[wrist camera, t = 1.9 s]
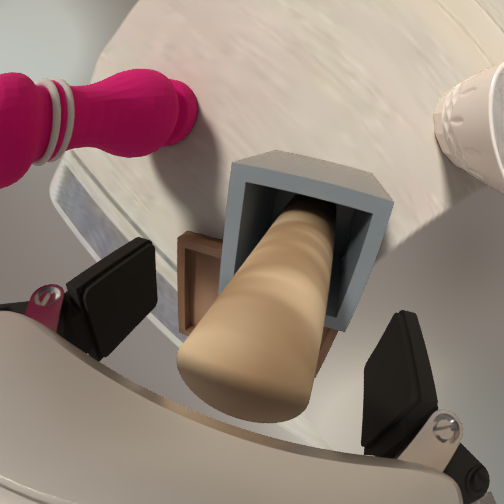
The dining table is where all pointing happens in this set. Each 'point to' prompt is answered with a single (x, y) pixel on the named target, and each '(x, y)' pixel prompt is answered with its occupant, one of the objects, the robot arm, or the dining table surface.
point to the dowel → (267, 321)
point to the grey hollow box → (318, 186)
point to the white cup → (475, 125)
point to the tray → (210, 284)
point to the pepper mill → (89, 117)
